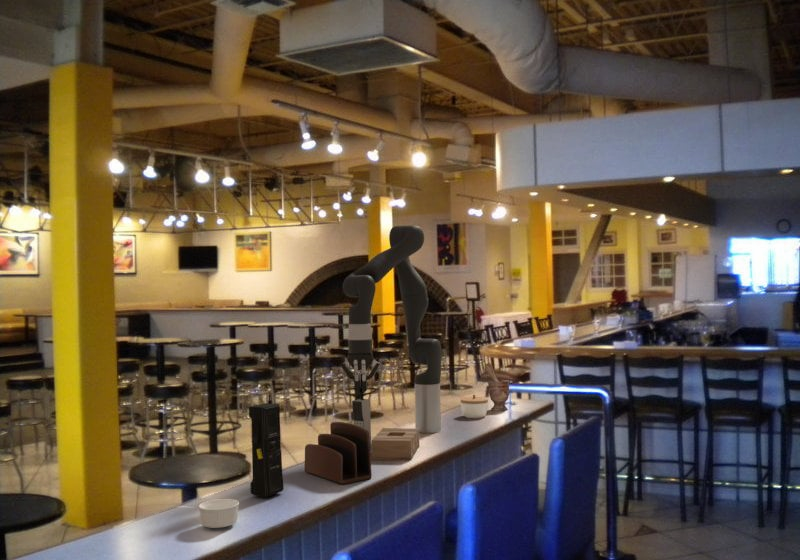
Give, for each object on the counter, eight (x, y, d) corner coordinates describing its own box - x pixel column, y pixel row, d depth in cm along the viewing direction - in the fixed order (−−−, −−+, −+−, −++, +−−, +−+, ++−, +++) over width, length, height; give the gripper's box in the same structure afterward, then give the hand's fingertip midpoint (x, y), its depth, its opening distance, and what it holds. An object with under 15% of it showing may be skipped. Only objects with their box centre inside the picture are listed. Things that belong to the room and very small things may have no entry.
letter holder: (333, 466, 229) (332, 418, 229) (372, 479, 213) (371, 427, 213) (304, 471, 223) (303, 422, 223) (341, 485, 207) (340, 432, 207)
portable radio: (265, 498, 194) (264, 398, 195) (247, 496, 197) (245, 397, 198) (285, 491, 201) (283, 394, 201) (266, 488, 204) (265, 393, 204)
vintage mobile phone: (352, 453, 245) (351, 374, 246) (361, 450, 250) (359, 372, 250) (362, 454, 243) (361, 374, 244) (371, 451, 248) (369, 373, 248)
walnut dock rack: (383, 446, 256) (382, 428, 256) (419, 446, 254) (419, 428, 254) (371, 460, 236) (371, 440, 236) (411, 460, 234) (410, 440, 234)
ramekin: (192, 528, 172) (191, 508, 172) (209, 516, 180) (208, 497, 180) (230, 530, 170) (229, 510, 170) (245, 518, 179) (245, 499, 179)
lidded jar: (474, 415, 314) (474, 392, 314) (493, 418, 305) (493, 394, 305) (455, 418, 307) (454, 394, 307) (474, 422, 298) (473, 397, 299)
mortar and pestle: (478, 412, 320) (477, 364, 321) (488, 409, 327) (487, 362, 328) (503, 414, 314) (502, 365, 314) (513, 411, 321) (512, 363, 321)
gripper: (383, 337, 250) (384, 391, 249) (342, 337, 251) (343, 391, 251) (379, 338, 242) (380, 394, 242) (336, 339, 244) (338, 394, 244)
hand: (361, 392), depth 247 cm, fingers closed
